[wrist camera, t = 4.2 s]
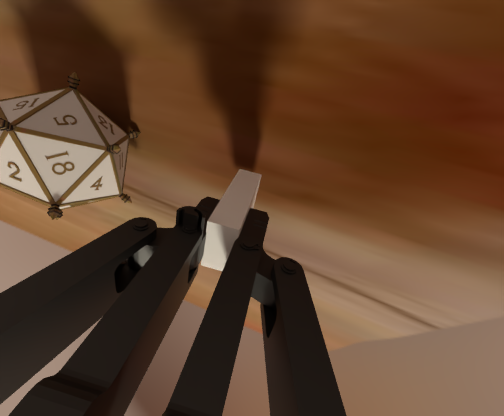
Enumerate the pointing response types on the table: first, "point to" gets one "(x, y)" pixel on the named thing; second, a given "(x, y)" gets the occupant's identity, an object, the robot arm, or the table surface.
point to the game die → (61, 149)
